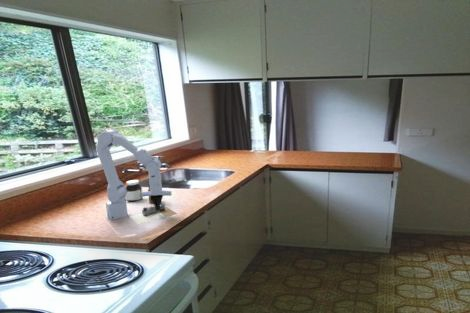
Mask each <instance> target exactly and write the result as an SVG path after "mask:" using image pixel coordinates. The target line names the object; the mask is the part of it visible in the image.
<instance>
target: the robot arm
mask: <svg viewBox="0 0 470 313" xmlns="http://www.w3.org/2000/svg"><path fill="white" fill-rule="evenodd" d="M96 139H97V145H96V151H97V154H98V158H99V161H100V164H101V166H102V168H103V170H102V171H103V172H104V176H105V178H106V182H107V187H106V190H107V200H109V201H108V202H107V203H105V208H106V215H107V216H106V217H107V218H108V219H109V220H110V221H112V220H116V219H122V218H125V217H126V216H128V215H129V214H128V207H127V206H128V205H127V200H126V198H125V195H126V194H127V189H126V186H125V185H124V183H123V181H121V180H120V178H119V175H118V172H117V169H116V167H115V163H114V160H113V158H112V155H111V154H112V153H111V151H110V150H111V148H112V146H113V145H114V146H115V145H116V146H121V147H122V148H124V150H127V151H128V152H130V153H131V154H133V157H134V160H137V161H138V163H140V164H141V165H142V166H144V167H145V169H146V171H147V172H148V181H149V183H150V191H148V190H147V191H142V193H141V195H142V198H143V197H149V196H151V198H150V199H151V201H152V202H153V204H152V205H154V206H155V208H156V210H160V205H161V203H162V200H163V197H164V196H167V197H171V196H172V190H163V186H162V173H161V167H162V162H161V160H160V159H159V158H158V157H155V156H154V155H151V154H149V152H148V151H147V150H146V149H143V148H138V147H137V146H135V145H134V144H133V143H132V142H130V140H129V139H127V138H126V137H125V136H124V135H123V133H121V132H119V131H118V130H116V129H109V130H105V131H104V130H103V131H102V132H100V133H99V134H98V136H97V138H96ZM149 183H148V184H149ZM154 206H153V207H154Z"/></svg>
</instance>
